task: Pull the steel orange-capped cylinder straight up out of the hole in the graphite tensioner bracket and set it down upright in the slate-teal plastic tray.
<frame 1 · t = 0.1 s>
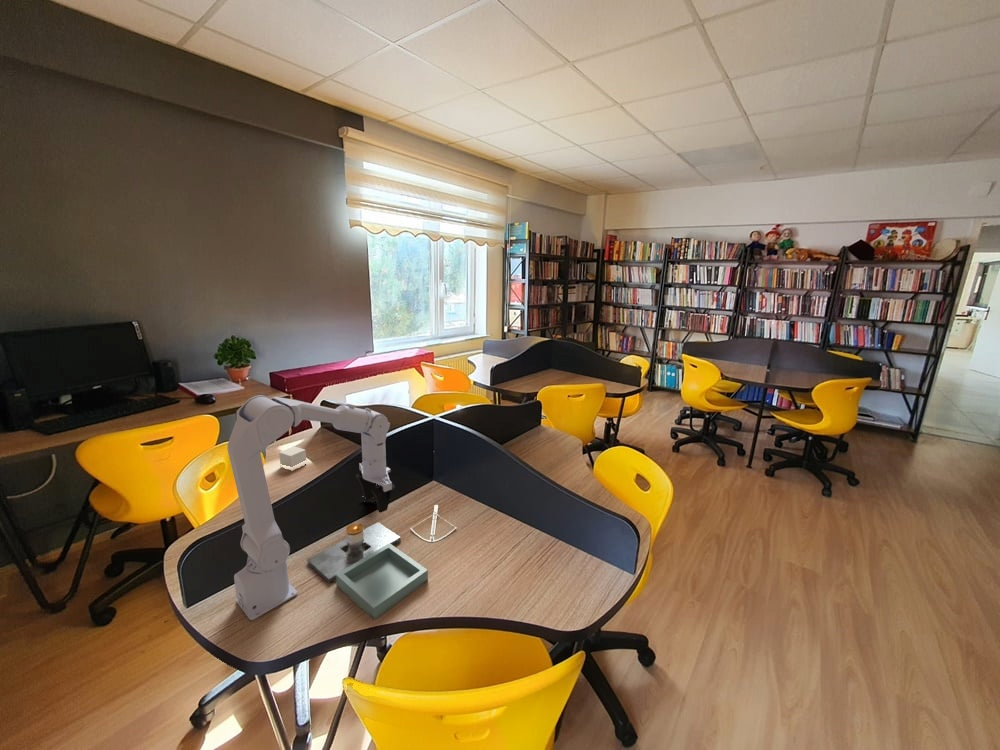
hand: (376, 504, 106), 10 cm above the table, fingers open, 7 cm apart
crossbow: (434, 526, 115), on the table
tensioner bracket: (356, 551, 103), on the table
orange-capped cylinder: (355, 539, 102), in the tensioner bracket
light grey cube: (293, 466, 145), on the table
tray: (382, 583, 93), on the table
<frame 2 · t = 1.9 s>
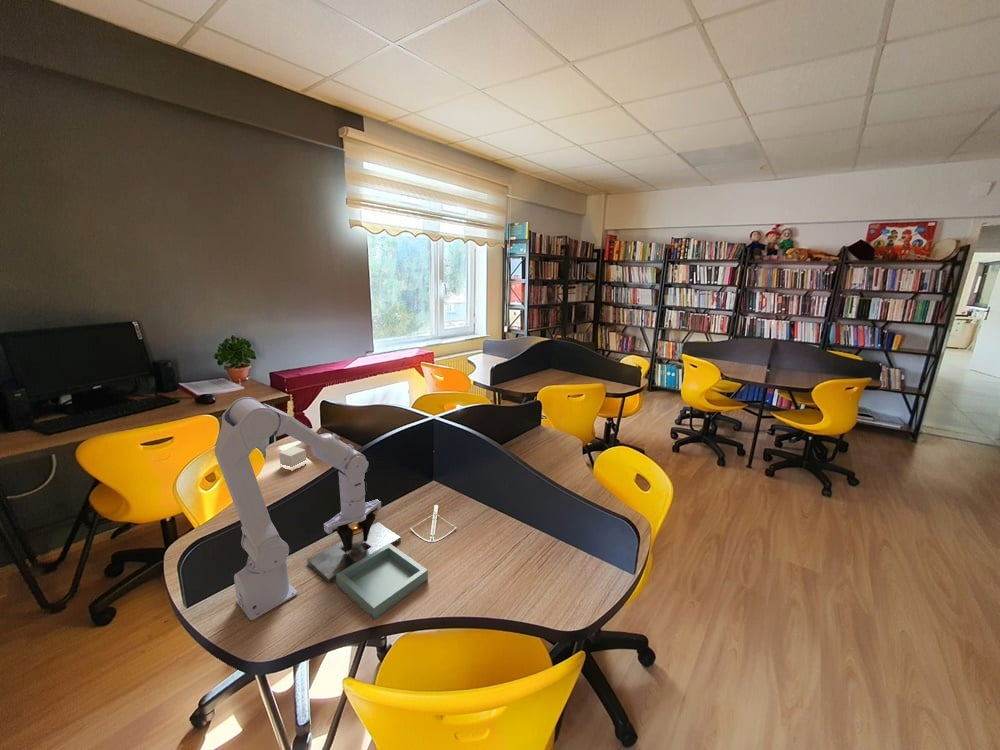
hand: (355, 544, 102), 2 cm above the table, fingers closed on orange-capped cylinder, 4 cm apart
orange-capped cylinder: (355, 539, 102), in the tensioner bracket, touching gripper
everything else where it was.
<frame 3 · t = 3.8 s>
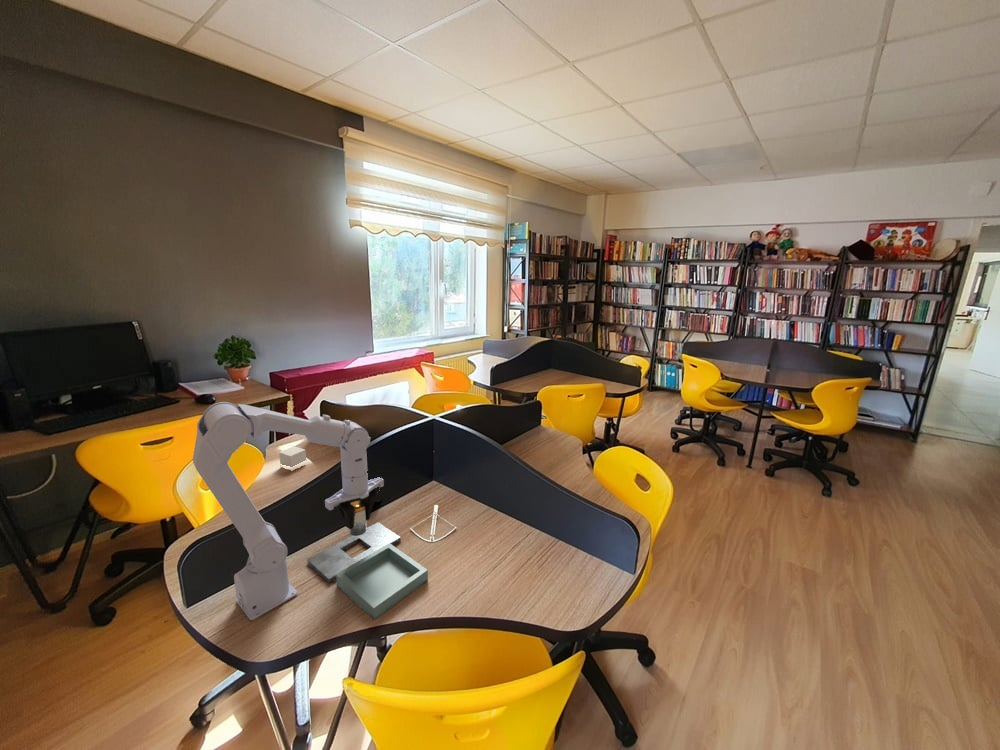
hand: (357, 522, 99), 9 cm above the table, fingers closed on orange-capped cylinder, 4 cm apart
orange-capped cylinder: (357, 518, 99), point 11 cm above the table, touching gripper
everything else where it was.
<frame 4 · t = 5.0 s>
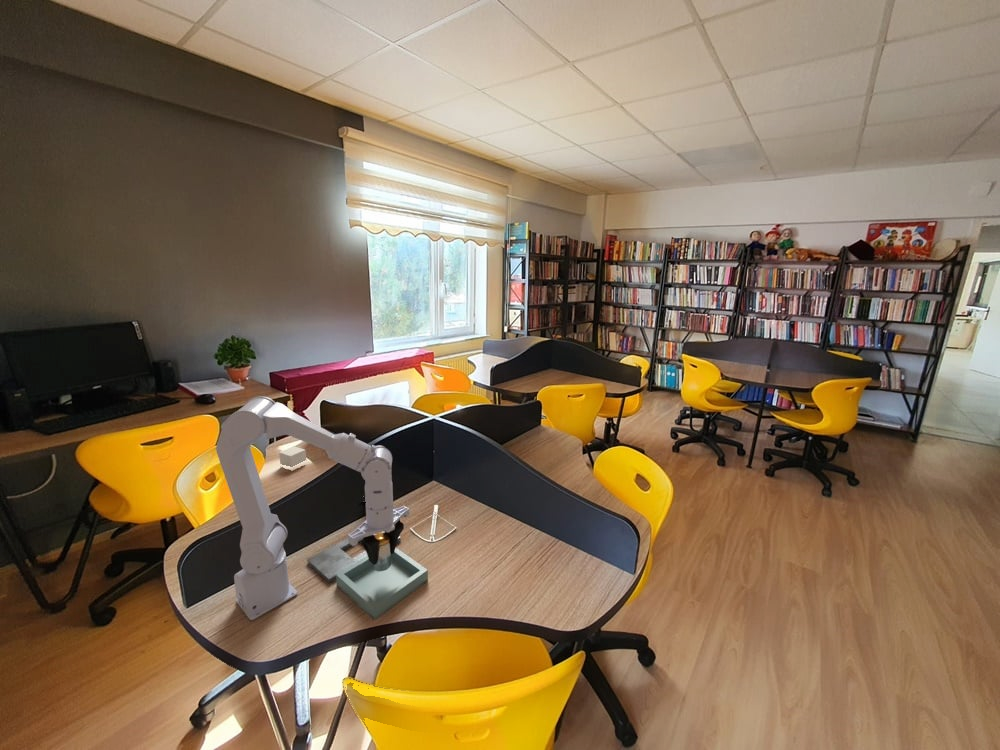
hand: (381, 556, 91), 7 cm above the table, fingers closed on orange-capped cylinder, 4 cm apart
orange-capped cylinder: (381, 551, 91), point 8 cm above the table, touching gripper
everything else where it was.
when the fingers open (4 cm above the table, at t = 5.9 s): orange-capped cylinder drops 1 cm, resting on tray.
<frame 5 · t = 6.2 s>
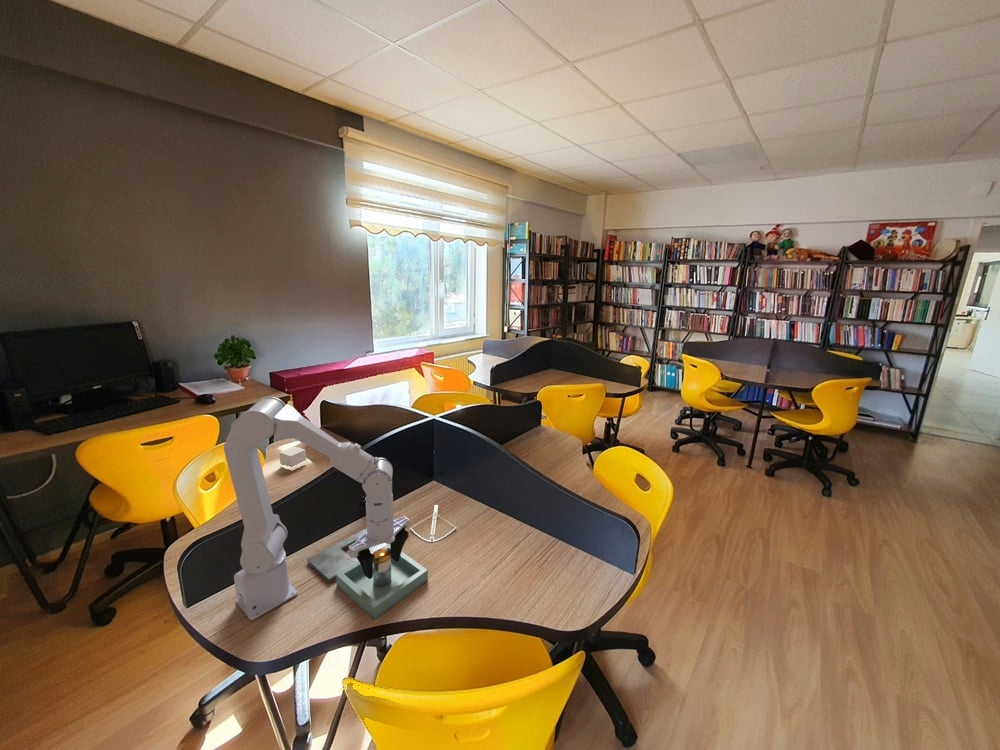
hand: (382, 567, 92), 4 cm above the table, fingers open, 7 cm apart
orange-capped cylinder: (382, 567, 92), in the tray, point 4 cm above the table
everything else where it was.
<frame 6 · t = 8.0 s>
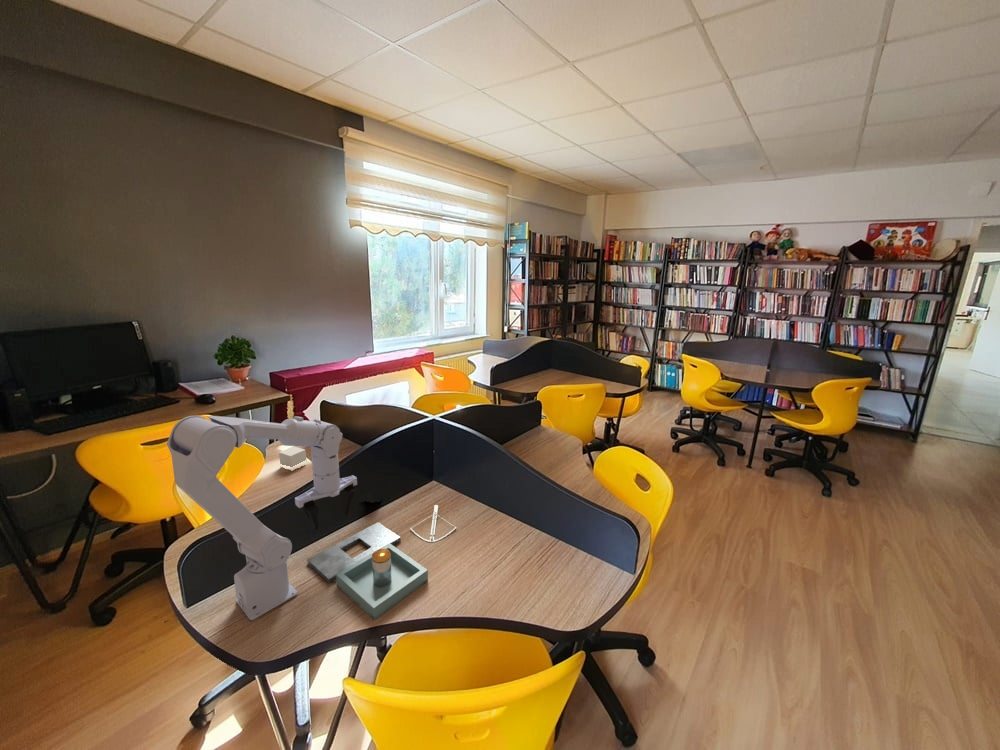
hand: (329, 520, 99), 9 cm above the table, fingers open, 7 cm apart
nothing on the table moved.
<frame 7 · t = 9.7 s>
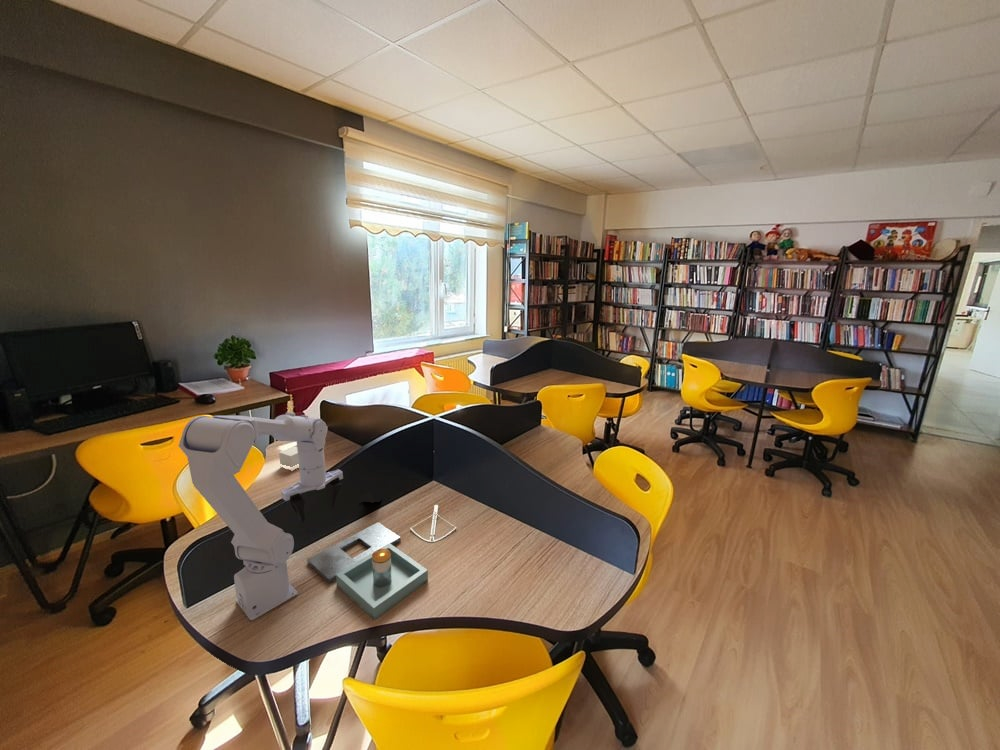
hand: (316, 513, 102), 9 cm above the table, fingers open, 7 cm apart
nothing on the table moved.
at the end: orange-capped cylinder inside the target area on the tray (0.1 cm from its centre), point 4.1 cm above the tray's base; orange-capped cylinder tilted 0°; the gripper is holding nothing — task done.
